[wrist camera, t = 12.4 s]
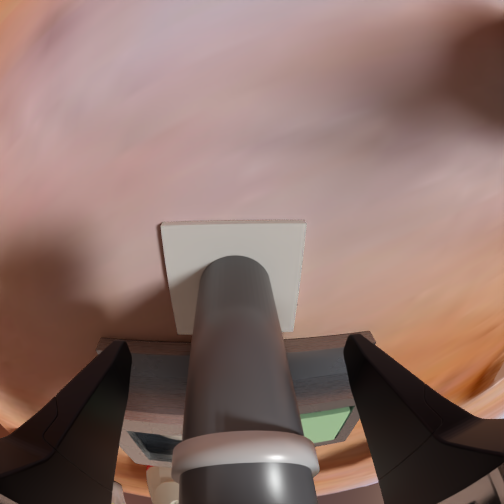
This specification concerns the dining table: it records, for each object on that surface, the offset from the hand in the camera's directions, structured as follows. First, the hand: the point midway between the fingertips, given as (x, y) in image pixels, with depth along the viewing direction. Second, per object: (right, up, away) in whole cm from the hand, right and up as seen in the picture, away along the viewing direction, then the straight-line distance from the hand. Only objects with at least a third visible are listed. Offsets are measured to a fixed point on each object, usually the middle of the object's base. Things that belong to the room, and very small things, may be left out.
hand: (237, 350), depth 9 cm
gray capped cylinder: (0, +2, +3) cm, 4 cm away
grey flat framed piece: (-1, -7, +8) cm, 11 cm away
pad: (0, +2, +4) cm, 4 cm away
